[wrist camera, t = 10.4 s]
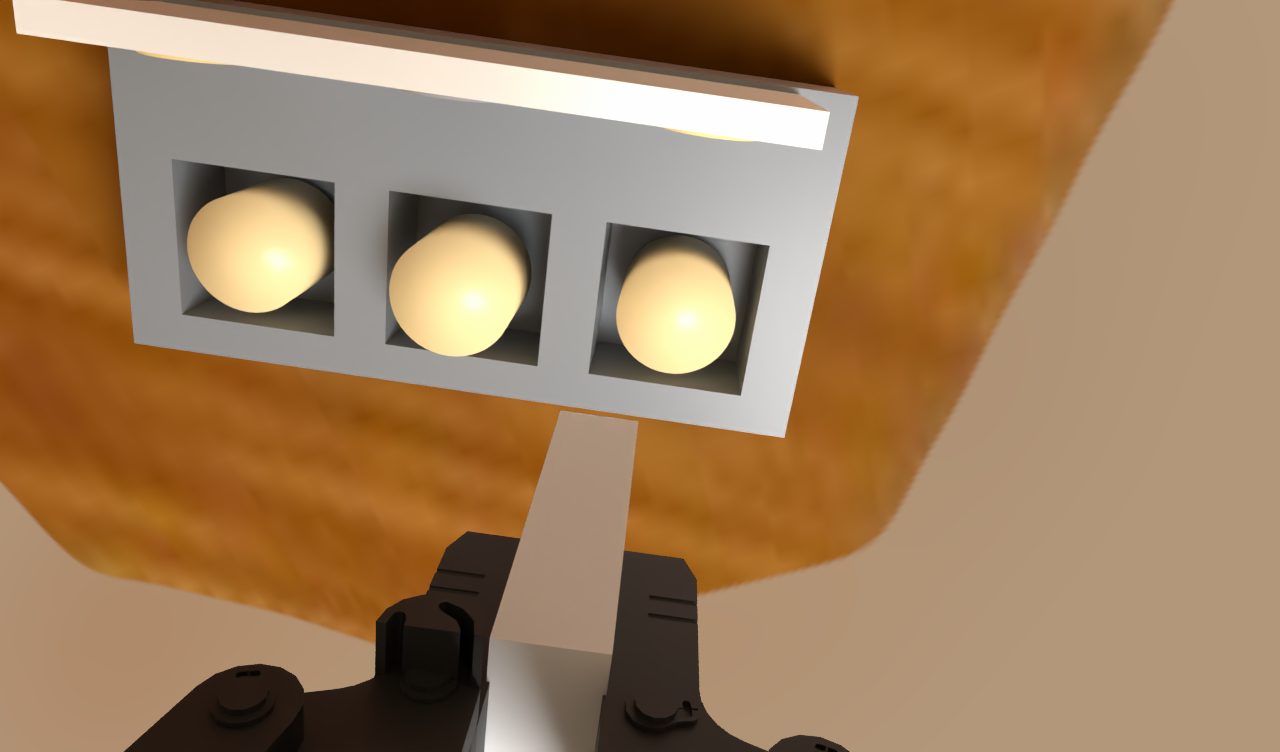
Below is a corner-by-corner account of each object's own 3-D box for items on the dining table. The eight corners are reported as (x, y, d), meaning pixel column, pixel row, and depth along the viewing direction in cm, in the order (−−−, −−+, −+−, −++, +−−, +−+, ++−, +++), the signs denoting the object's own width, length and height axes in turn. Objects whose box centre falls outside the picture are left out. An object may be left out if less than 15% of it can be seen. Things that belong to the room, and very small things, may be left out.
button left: (241, 275, 37) (190, 303, 33) (237, 170, 35) (183, 187, 31) (345, 290, 37) (305, 320, 33) (345, 186, 35) (304, 205, 31)
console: (200, 305, 39) (4, 415, 28) (182, -8, 34) (-64, -26, 23) (773, 389, 39) (805, 532, 28) (836, 87, 34) (905, 115, 23)
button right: (617, 330, 36) (609, 364, 33) (631, 228, 35) (624, 251, 31) (721, 345, 36) (724, 381, 33) (739, 243, 35) (745, 269, 31)
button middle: (419, 313, 35) (387, 347, 31) (423, 206, 34) (390, 227, 30) (526, 329, 35) (507, 364, 31) (536, 222, 34) (517, 246, 30)
